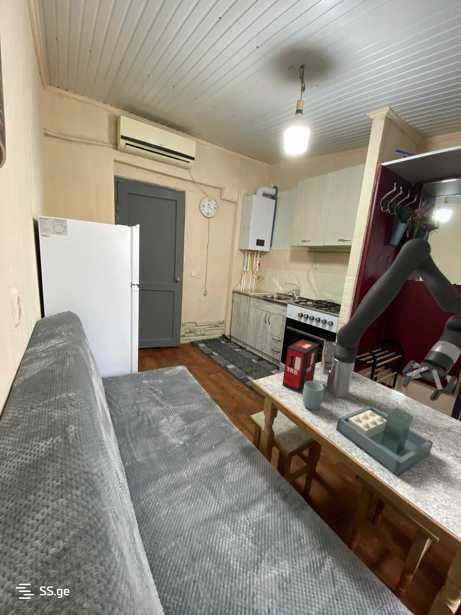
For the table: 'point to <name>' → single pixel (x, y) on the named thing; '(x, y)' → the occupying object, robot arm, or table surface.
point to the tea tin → (396, 430)
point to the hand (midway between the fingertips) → (417, 392)
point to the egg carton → (368, 423)
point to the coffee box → (327, 356)
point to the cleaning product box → (300, 364)
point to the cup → (312, 394)
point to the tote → (395, 463)
